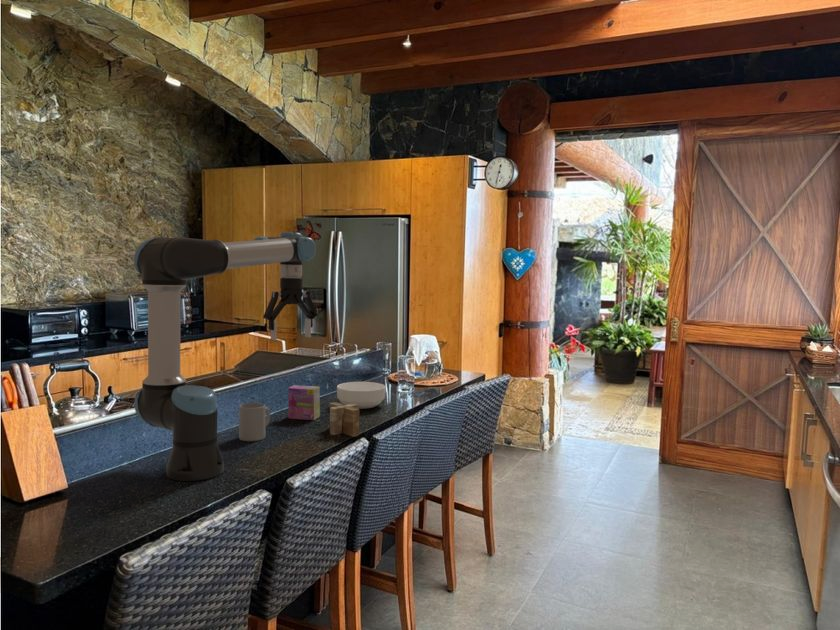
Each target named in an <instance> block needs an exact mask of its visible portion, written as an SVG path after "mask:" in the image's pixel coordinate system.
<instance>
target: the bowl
mask: <svg viewBox="0 0 840 630" xmlns="http://www.w3.org/2000/svg"><path fill="white" fill-rule="evenodd" d="M336 398H337V399H338V400H339V403H340V404H343V405H349V404H357V405H358V409H359V410H361V409H371V408H375V407H377V406H378V405H379V404H381V403H382V402H383V400H384V399H385V398H386V385H385V384H383V383H380V382H373V381H348V382H343V383H339V384H337V386H336Z"/></svg>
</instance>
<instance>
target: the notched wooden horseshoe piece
mask: <svg viewBox="0 0 840 630" xmlns="http://www.w3.org/2000/svg"><path fill="white" fill-rule="evenodd" d="M346 407H353V408H356V409H358V405H357V404H349V405H344V404H343V406H337V407H331V408H330V407H329V433H330V435H333V436H337V435H341V434H343V433H342V420H344V408H346Z"/></svg>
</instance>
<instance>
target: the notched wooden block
mask: <svg viewBox="0 0 840 630" xmlns="http://www.w3.org/2000/svg"><path fill="white" fill-rule="evenodd" d="M343 405H344V404H342V403H341V402H336V401H334V402H330V403H329V409H330V408H331V407H337V406H343ZM341 434H345V435H347V436H350V437H358V436H360V409H356V408H353V407H346V408H344V420H342V433H341Z"/></svg>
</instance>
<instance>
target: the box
mask: <svg viewBox="0 0 840 630" xmlns="http://www.w3.org/2000/svg"><path fill="white" fill-rule="evenodd" d="M287 392H288V393H287V395H288V399H287V400H288V403H287V404H288V405H287V406H288V419H290V420H291V419H293V420H307V421H308V420H309V421H316V420H318V418H320V417H321V415H320V414H321V413H320V412H321V400H320V398H321V393H320V392H321V387H320V386H314V385H313V386H312V385H299V384H297V385H296V384H293V385H291V386H289V387H288V391H287Z"/></svg>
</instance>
